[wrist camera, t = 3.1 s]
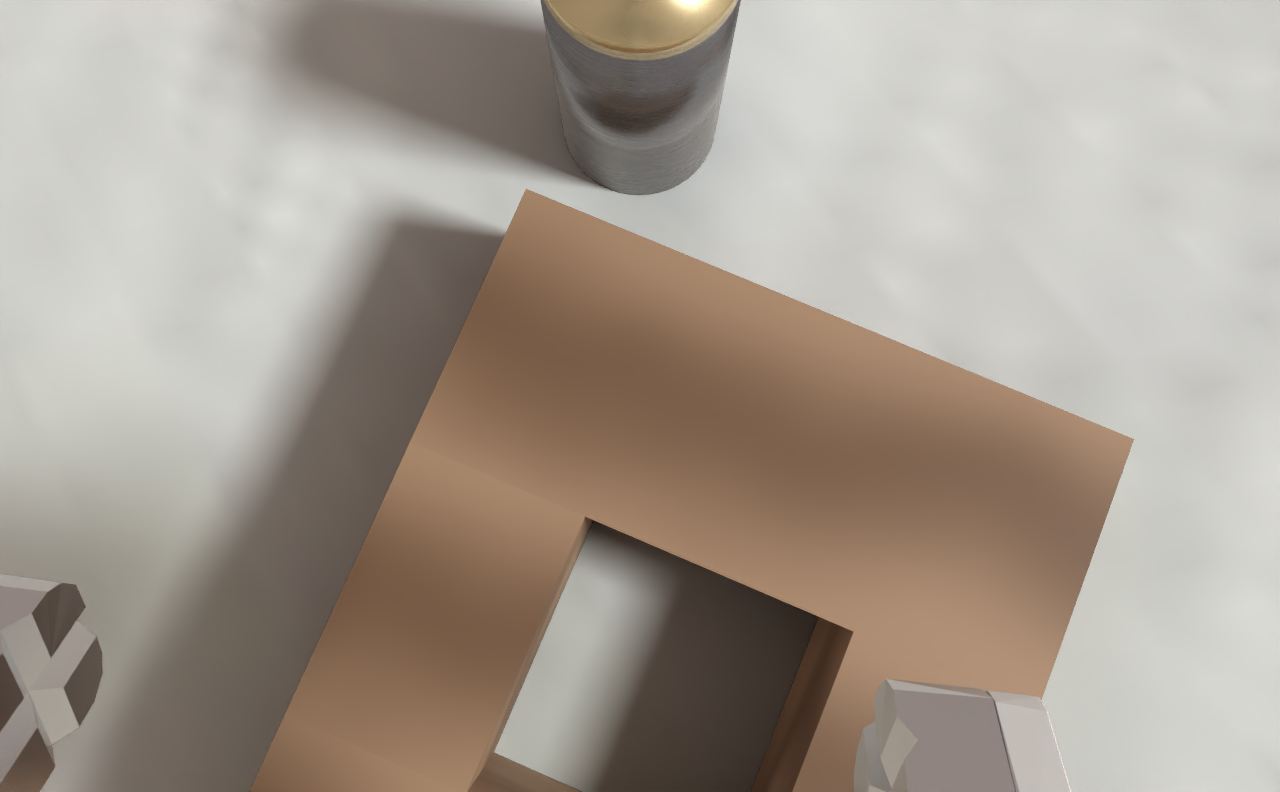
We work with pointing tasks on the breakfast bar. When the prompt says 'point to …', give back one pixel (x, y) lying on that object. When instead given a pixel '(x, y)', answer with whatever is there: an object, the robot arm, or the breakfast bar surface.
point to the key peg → (639, 85)
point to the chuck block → (691, 511)
